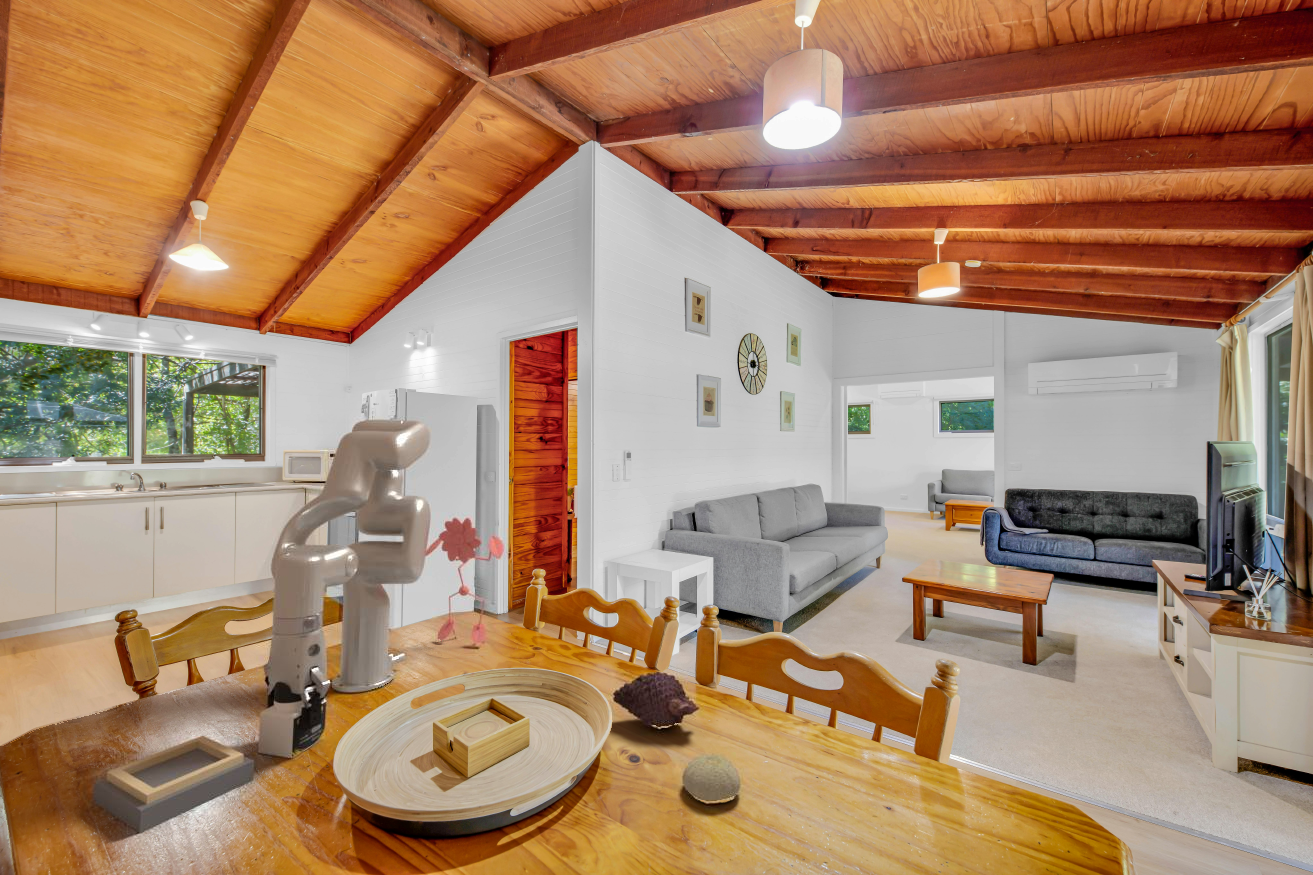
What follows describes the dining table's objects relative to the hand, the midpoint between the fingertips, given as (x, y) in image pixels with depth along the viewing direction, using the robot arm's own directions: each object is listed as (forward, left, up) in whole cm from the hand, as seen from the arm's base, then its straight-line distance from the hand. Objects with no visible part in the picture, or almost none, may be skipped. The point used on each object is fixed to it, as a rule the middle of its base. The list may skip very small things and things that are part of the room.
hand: (293, 720), depth 98 cm
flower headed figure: (-50, -13, -4) cm, 52 cm away
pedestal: (+16, -2, -4) cm, 17 cm away
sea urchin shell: (-23, +70, -5) cm, 74 cm away
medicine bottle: (0, 0, -4) cm, 4 cm away
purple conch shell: (-38, +53, -4) cm, 65 cm away
